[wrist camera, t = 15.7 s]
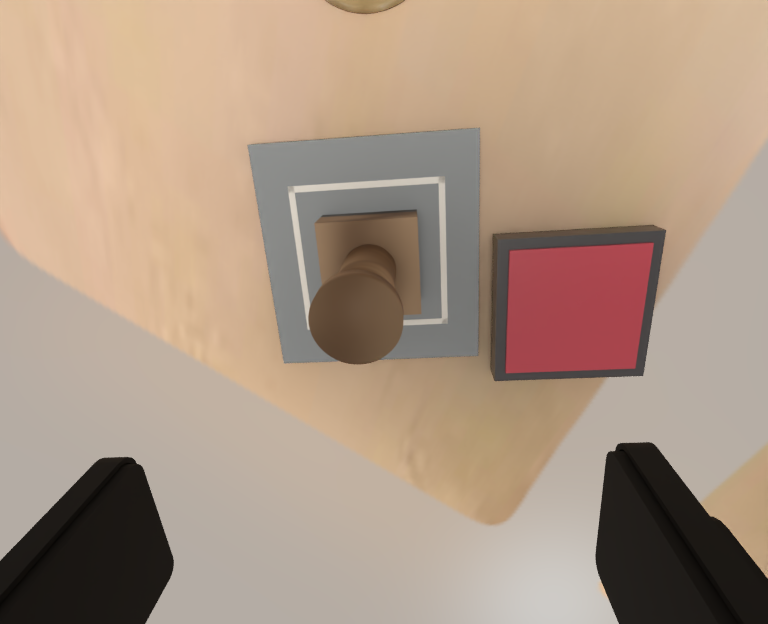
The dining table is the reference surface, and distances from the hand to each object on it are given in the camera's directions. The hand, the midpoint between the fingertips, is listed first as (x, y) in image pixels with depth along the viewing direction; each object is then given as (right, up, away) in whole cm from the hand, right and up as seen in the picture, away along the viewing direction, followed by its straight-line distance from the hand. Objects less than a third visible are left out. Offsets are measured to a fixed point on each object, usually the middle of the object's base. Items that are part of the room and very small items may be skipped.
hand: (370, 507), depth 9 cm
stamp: (-1, +7, +21) cm, 22 cm away
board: (-1, +8, +22) cm, 23 cm away
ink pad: (+13, +5, +22) cm, 26 cm away
